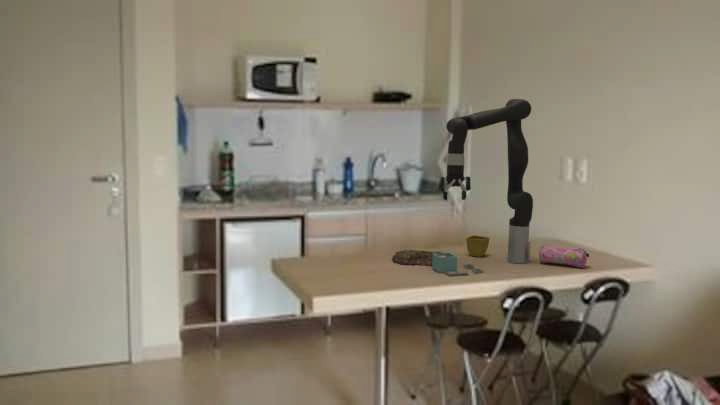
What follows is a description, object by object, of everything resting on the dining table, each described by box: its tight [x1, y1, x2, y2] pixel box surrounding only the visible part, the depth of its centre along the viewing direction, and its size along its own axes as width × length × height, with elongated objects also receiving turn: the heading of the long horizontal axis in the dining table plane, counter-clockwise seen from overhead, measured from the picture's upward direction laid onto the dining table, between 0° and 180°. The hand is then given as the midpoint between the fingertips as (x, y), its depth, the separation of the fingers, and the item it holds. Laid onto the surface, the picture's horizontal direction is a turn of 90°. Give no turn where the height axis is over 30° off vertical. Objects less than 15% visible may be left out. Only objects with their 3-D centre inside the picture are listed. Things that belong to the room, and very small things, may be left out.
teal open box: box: [431, 252, 458, 274], centre depth 320 cm, size 8×8×7 cm
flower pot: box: [465, 234, 491, 258], centre depth 352 cm, size 9×9×9 cm
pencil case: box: [538, 243, 590, 269], centre depth 335 cm, size 21×9×9 cm, turn 62°
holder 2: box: [471, 268, 484, 274], centre depth 318 cm, size 4×4×1 cm
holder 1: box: [462, 263, 475, 270], centre depth 327 cm, size 4×4×1 cm
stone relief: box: [391, 249, 443, 267], centre depth 341 cm, size 26×4×30 cm
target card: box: [444, 270, 469, 277], centre depth 314 cm, size 9×5×1 cm, turn 106°
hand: (454, 199), depth 325 cm, fingers open, 8 cm apart
